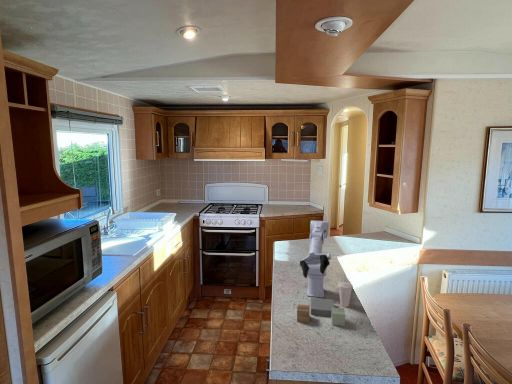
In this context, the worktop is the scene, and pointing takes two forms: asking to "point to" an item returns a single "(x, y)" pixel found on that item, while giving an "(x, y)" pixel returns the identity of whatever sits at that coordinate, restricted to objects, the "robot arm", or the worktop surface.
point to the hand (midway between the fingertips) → (313, 274)
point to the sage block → (338, 316)
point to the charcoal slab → (321, 306)
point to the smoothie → (345, 292)
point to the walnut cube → (303, 313)
